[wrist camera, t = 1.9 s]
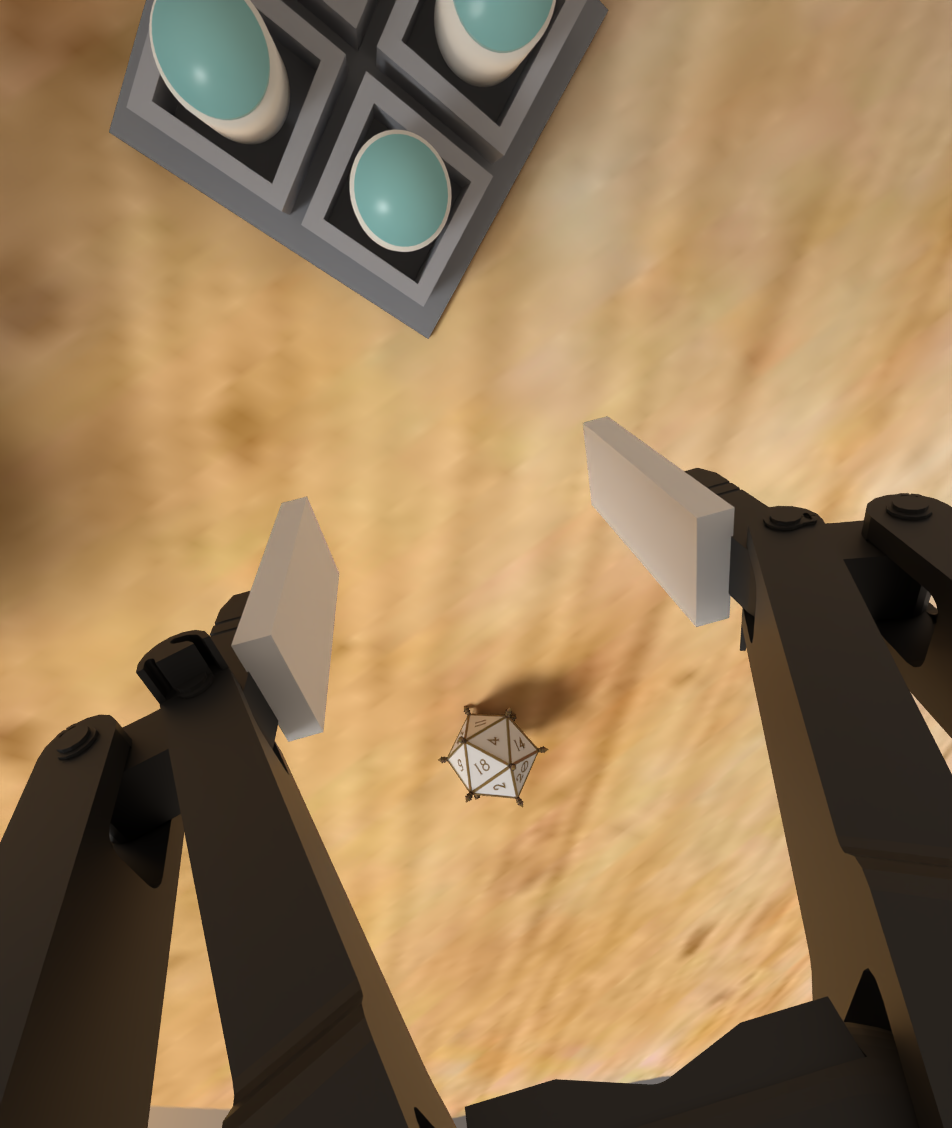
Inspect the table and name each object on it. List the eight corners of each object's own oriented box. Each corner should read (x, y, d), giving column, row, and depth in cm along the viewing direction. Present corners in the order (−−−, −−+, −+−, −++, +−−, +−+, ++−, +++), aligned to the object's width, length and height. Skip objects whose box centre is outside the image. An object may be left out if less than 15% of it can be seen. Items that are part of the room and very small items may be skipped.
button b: (337, 216, 27) (331, 210, 23) (378, 123, 26) (379, 100, 22) (413, 269, 29) (420, 273, 25) (456, 186, 27) (471, 175, 23)
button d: (170, 99, 24) (129, 69, 20) (205, -14, 23) (168, -71, 18) (267, 167, 26) (247, 152, 22) (306, 66, 24) (293, 29, 20)
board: (112, 133, 27) (78, 118, 24) (254, -367, 20) (233, -476, 17) (427, 337, 34) (433, 346, 31) (605, 13, 27) (634, -17, 24)
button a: (416, 39, 24) (424, -3, 20) (467, -76, 23) (488, -146, 19) (495, 110, 26) (518, 85, 22) (548, 7, 25) (583, -41, 21)
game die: (476, 679, 54) (517, 690, 44) (531, 739, 55) (582, 762, 46) (411, 748, 51) (441, 775, 42) (470, 809, 52) (512, 849, 43)
